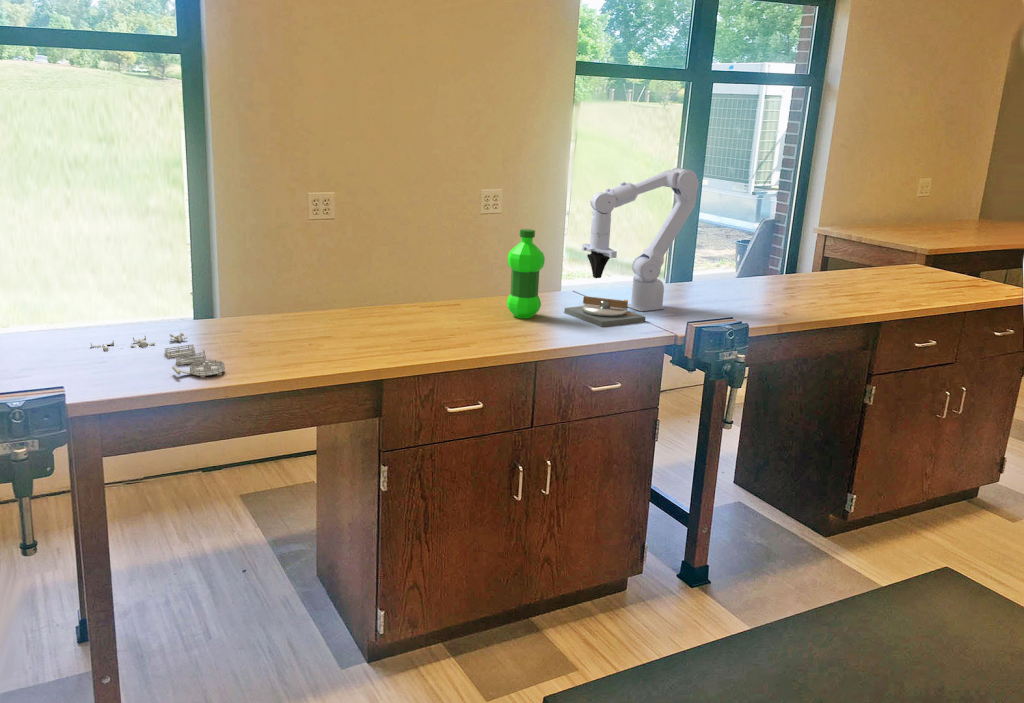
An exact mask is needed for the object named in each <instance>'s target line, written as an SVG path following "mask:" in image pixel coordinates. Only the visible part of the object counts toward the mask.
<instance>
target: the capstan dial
mask: <svg viewBox="0 0 1024 703" xmlns="http://www.w3.org/2000/svg"><path fill="white" fill-rule="evenodd" d="M582 299H583V301H582V304H583V305H582V306H583V311H584V312H585V313H588V314H591V315H597V316H607V317H615V316H623V315H626V314H627V311H628V308H629V307H628V304H629V300H628V299H624V300H620V299H613V298H604V297H595V296H587V295H586V296H585V295H584V296H583V298H582Z"/></svg>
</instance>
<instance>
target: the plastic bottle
mask: <svg viewBox="0 0 1024 703" xmlns="http://www.w3.org/2000/svg"><path fill="white" fill-rule="evenodd" d="M535 236H536V230H535V229H530V228H529V229H528V228H526V229H523V228H521V229H519V237H520V238H521V240H520V242H519V243H517V244H516V245H515V246H514V247H512V249H511V250H510V251H509V252H508V254H507V265H508V266H509V268H510V270H511V277H510V279H511V280H510V294H508V297H507V300H506V307H507V310H509V312H510V313H511V314H512V315H513V316H514V317H515V318H518V319H531V318H533V316H534V315H536V314H537V313H538V312H539V311H540V309H541V307H542V301H541V299H540V297H539V287H540V285H539V283H540V271H541V270H542V269H543V268H544V265H545V256H544V253H543V252H542V250H540V248H539V247H538V246H537V245H536V244H534V242H533V241H534V240H533V239H534V238H535Z"/></svg>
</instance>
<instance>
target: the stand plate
mask: <svg viewBox="0 0 1024 703" xmlns="http://www.w3.org/2000/svg"><path fill="white" fill-rule="evenodd" d="M563 313H564V314H566V315H568V316H571V317H575V318H577V319H580V320H581V321H585V322H588V323H590V324H593V325H595V326H598V327H601V328H606V327H613V326H614V327H615V326H621V325H628V324H637V323H645V322H646V316H644V315H641V314H638V313H636V312H632V311H631V310H627V314H626V315H623V316H615V317H607V316H597V315H591V314H588V313H585V312H584V311H583V305H581V306H571V307H564V312H563Z"/></svg>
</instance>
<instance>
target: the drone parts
mask: <svg viewBox="0 0 1024 703" xmlns="http://www.w3.org/2000/svg"><path fill="white" fill-rule="evenodd" d="M184 335H185V334H184V332H180V333H179V335H177V336H176V335H174V334H172V333H169V335H168V336H169V337H170V339H169V340H170V341H174V342H175V341H176V342H182V341H183V340H184V341H185V340H186V339H188V336H184ZM132 340H133V342H134V343H135V342H136V343H137V342H138V343H137V345H134V344H130V347H131V348H137V347H136V346H141V348H142V347H145V348H147V347H148V346H147V345H151V346H152V345H156V343H155V342H151V343H148V342H146V341H147V336H146V335H144V338H141V339H140V338H139V339H135V337H134V336H132ZM101 345H102V347H101ZM101 345H100V344H99V345H93V344H92V342H90V346H91V348H92V347H97V348H103V349H104V350H105V351H104V350H103V351H104V352H109V350H108V349H109V346H107V347H105V346H104V345H111V346H115V342H114V340H112V342H110V343H106V344H101ZM205 351H206V350H205V349H202V352H196V348H195V346H194V344H193V343H191V344H187V345H181V346H179V345H178V346H172V347H166V348H164V352H163V354H164V355H165V357H166V358H169V359H170V358H175V364H176V365H177V366H178V367H179V366H181V365H183V366H184V365H189V371H187V370H182V369H179V368H177V366H175V365H173V366H171V369H172V370H173V371H174V372H175V373H176V375H178V376H179V375H181V373H183V374H188V375H194V376H199V377H200V378H206V377H207V376H212V375H217V376H222V375H223V374H222V373H223V372H224V371H225V370H226V369H225V366H226V365H225V363H224V361H221V360H219V359H218V360H217V359H207V354H206V352H205Z"/></svg>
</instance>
